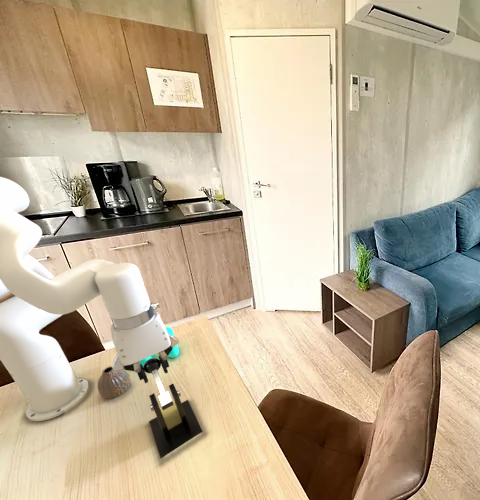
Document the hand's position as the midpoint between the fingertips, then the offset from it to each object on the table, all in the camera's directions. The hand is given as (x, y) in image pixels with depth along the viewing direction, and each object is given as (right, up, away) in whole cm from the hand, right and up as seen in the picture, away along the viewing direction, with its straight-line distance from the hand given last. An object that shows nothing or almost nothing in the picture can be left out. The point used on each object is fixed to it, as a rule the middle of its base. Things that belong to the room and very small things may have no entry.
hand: (155, 374), depth 72 cm
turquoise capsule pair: (-12, -4, +20) cm, 23 cm away
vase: (-16, -9, +8) cm, 20 cm away
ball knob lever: (+3, -2, -2) cm, 4 cm away
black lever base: (+6, -13, -1) cm, 15 cm away
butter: (+5, -11, 0) cm, 12 cm away
